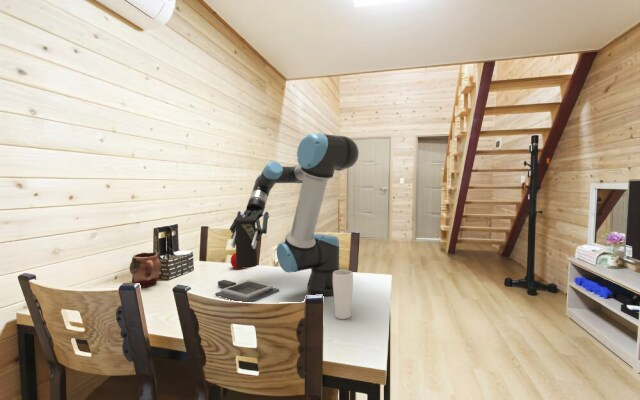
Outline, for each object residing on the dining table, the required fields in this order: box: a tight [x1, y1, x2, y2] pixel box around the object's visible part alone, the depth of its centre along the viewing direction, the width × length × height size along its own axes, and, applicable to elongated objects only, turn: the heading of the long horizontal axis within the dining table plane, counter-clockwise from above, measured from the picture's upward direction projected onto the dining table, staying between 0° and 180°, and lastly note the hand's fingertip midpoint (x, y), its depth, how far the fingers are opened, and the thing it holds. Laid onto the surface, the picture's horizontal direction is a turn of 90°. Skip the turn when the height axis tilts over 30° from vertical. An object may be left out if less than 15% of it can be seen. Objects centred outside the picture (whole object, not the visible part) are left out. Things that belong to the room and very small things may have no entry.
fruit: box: [230, 252, 243, 270], centre depth 171 cm, size 9×9×10 cm
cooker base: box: [214, 279, 280, 303], centre depth 133 cm, size 26×18×2 cm
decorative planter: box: [129, 252, 162, 289], centre depth 143 cm, size 20×12×14 cm, turn 50°
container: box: [233, 216, 258, 269], centre depth 130 cm, size 9×9×20 cm
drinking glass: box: [333, 269, 354, 320], centre depth 107 cm, size 7×7×15 cm
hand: (242, 246), depth 127 cm, fingers closed on container, 8 cm apart
